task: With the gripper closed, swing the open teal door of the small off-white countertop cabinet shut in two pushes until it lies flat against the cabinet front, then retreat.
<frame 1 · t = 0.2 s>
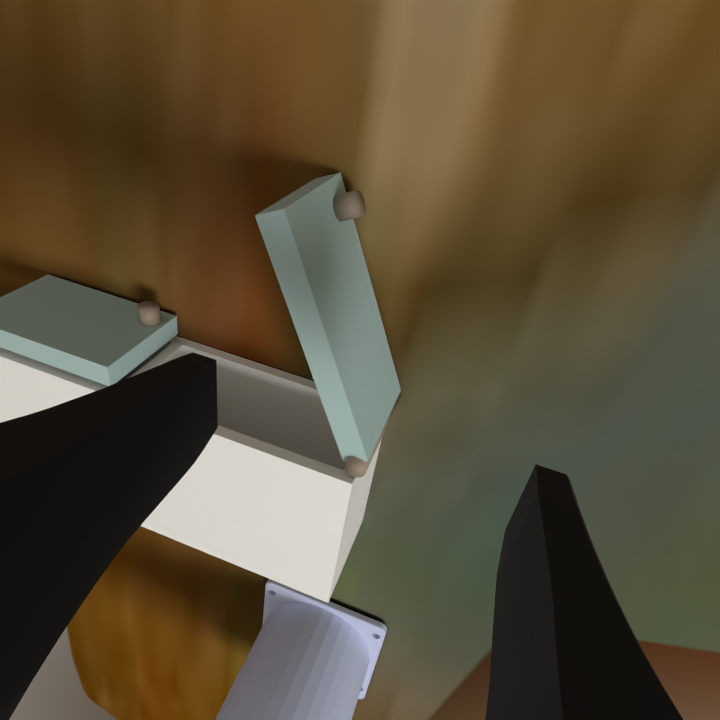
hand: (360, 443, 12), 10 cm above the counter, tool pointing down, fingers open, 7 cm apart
cabinet: (211, 410, 28), on the counter
door: (354, 325, 19), point 3 cm above the counter, hinge at -65.0°
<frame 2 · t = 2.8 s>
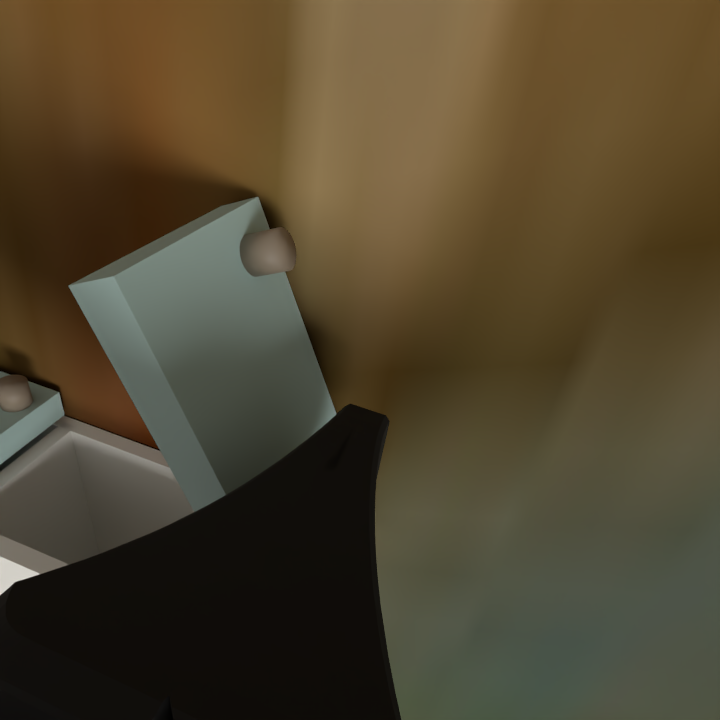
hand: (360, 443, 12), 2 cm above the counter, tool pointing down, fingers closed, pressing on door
cabinet: (123, 508, 20), on the counter
door: (284, 439, 12), point 3 cm above the counter, hinge at -65.0°, touching gripper
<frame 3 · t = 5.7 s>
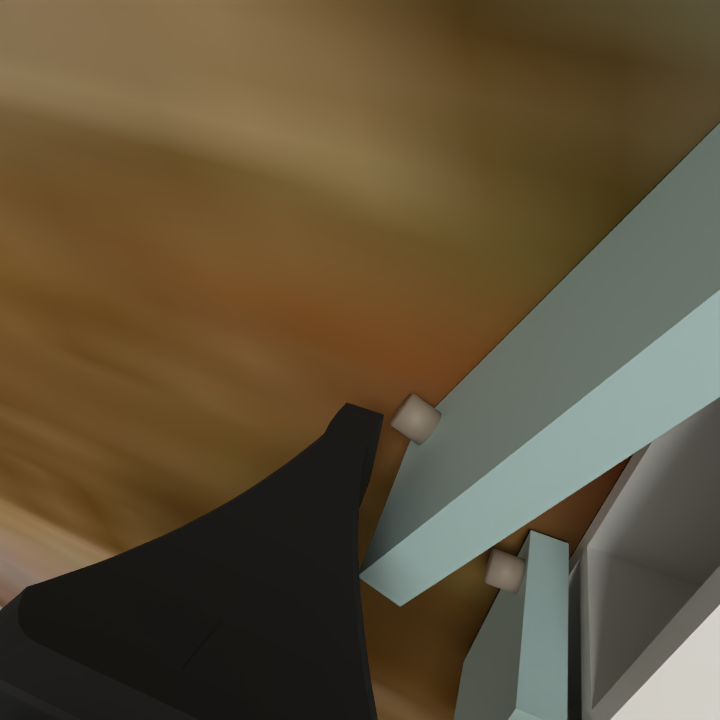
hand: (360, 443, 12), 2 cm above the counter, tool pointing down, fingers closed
door: (551, 350, 9), point 2 cm above the counter, hinge at -23.0°, touching gripper
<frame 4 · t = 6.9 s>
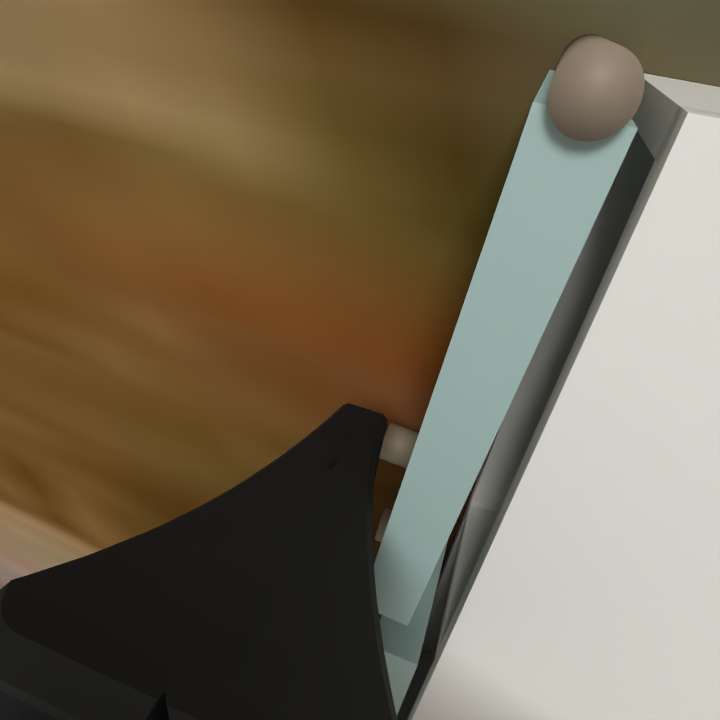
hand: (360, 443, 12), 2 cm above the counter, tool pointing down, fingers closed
cabinet: (645, 514, 13), on the counter
door: (456, 348, 9), point 3 cm above the counter, hinge at -2.7°, touching gripper
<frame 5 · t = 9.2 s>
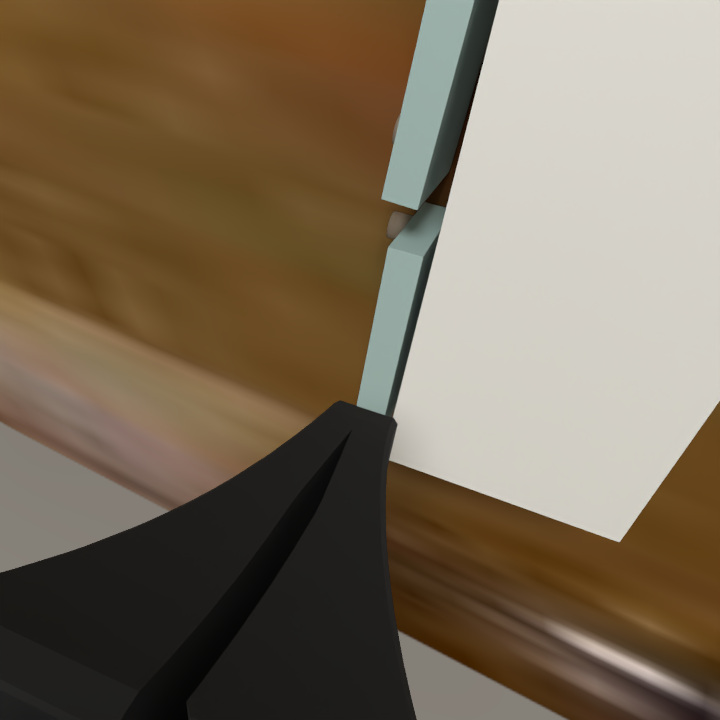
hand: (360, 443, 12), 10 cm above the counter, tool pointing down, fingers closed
cabinet: (600, 193, 17), on the counter
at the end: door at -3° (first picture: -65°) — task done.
